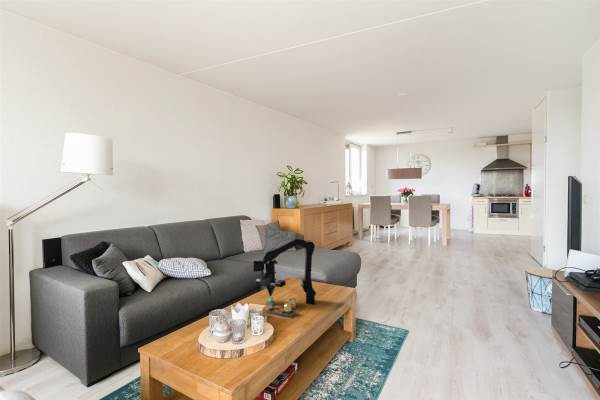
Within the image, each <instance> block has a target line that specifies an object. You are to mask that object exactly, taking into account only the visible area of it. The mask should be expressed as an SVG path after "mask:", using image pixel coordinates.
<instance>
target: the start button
mask: <svg viewBox="0 0 600 400" xmlns="http://www.w3.org/2000/svg"><path fill="white" fill-rule="evenodd" d="M267 301H268V302H269V303H272V302H273V301H274V298H273V297H268V300H267Z"/></svg>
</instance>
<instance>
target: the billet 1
mask: <svg viewBox="0 0 600 400" xmlns="http://www.w3.org/2000/svg"><path fill="white" fill-rule="evenodd" d="M283 309H284V314H288V315H290V314H291V310H292V309H291V303H289V302H286V303H283Z"/></svg>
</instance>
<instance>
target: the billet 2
mask: <svg viewBox="0 0 600 400" xmlns="http://www.w3.org/2000/svg"><path fill="white" fill-rule="evenodd" d="M296 301H297V299H296V297H289V298H288V303H291V310H293V309H296V308H297V302H296Z"/></svg>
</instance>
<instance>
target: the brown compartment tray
mask: <svg viewBox="0 0 600 400" xmlns="http://www.w3.org/2000/svg"><path fill="white" fill-rule="evenodd" d="M265 313H266V315H265V316H269V317H274V318H279V319H285V320H291V319H292V318H293V317H295V316H296V315H297V314H299V312H298V311H297V310H293V309H291V314H290V315H288V314H284V307H283V308H282V307H276V306H270V307H269V308H267V309H266V310H265Z"/></svg>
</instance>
